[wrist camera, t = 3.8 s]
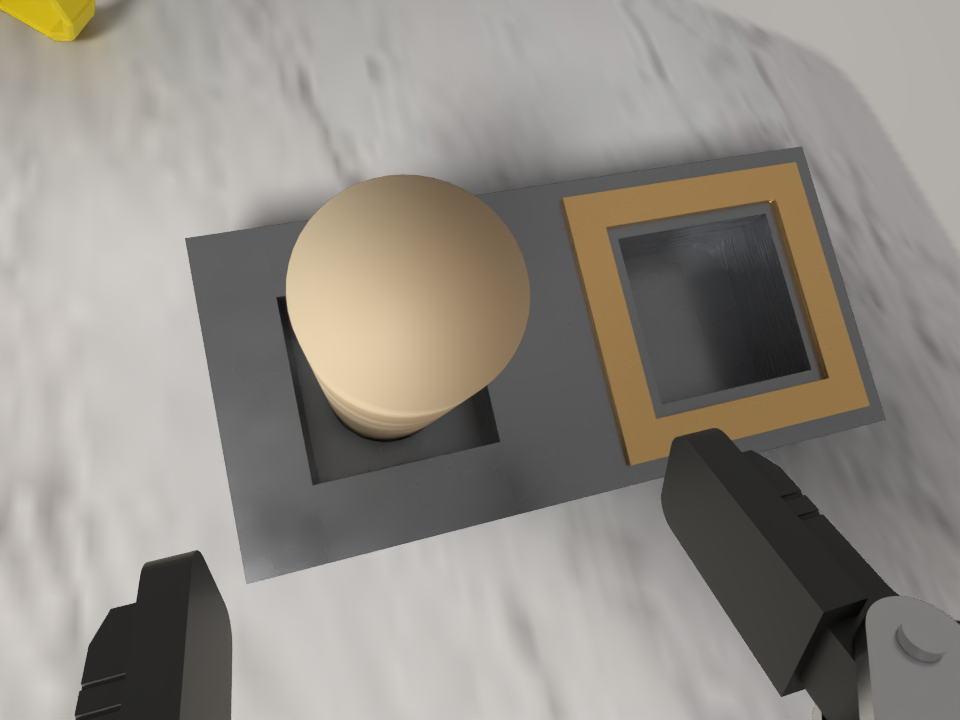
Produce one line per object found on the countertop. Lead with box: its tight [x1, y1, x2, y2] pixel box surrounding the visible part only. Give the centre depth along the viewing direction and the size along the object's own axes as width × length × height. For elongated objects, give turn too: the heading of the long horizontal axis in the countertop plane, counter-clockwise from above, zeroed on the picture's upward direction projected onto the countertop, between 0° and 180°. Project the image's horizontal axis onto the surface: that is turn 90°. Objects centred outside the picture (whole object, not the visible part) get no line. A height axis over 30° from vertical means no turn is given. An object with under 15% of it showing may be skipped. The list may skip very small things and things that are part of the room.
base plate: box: [185, 147, 885, 584], centre depth 22 cm, size 21×10×4 cm, turn 103°
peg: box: [286, 175, 530, 442], centre depth 17 cm, size 4×4×12 cm
